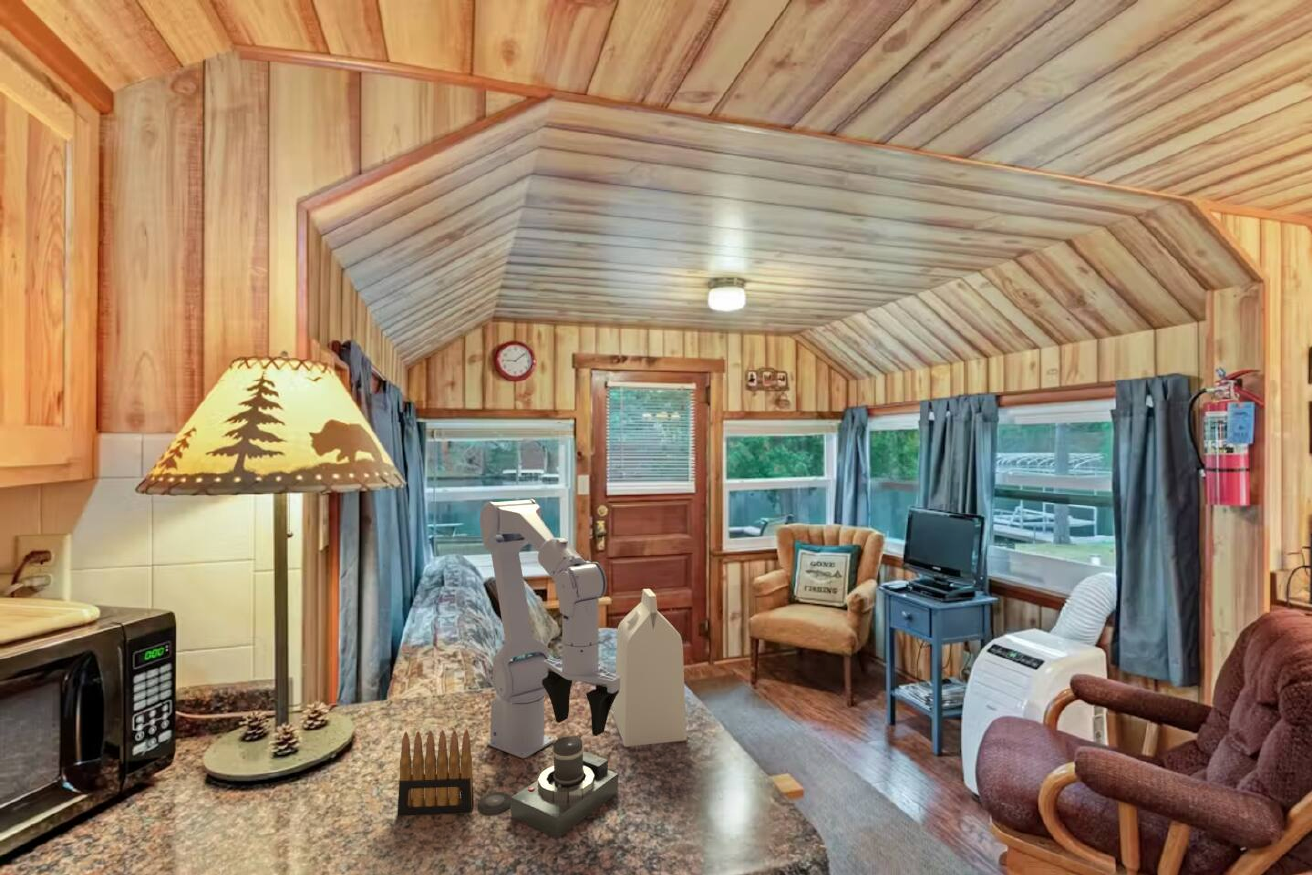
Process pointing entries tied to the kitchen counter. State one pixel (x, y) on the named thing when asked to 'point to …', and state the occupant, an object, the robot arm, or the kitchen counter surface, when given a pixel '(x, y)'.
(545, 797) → the camera body
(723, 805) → the kitchen counter surface
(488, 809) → the lens cap
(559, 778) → the lens
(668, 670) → the milk
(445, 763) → the ammunition clip
